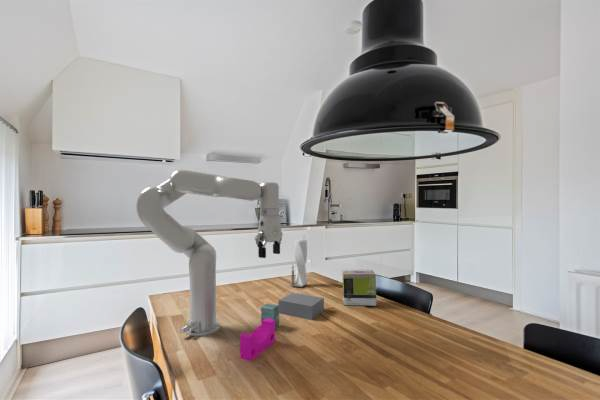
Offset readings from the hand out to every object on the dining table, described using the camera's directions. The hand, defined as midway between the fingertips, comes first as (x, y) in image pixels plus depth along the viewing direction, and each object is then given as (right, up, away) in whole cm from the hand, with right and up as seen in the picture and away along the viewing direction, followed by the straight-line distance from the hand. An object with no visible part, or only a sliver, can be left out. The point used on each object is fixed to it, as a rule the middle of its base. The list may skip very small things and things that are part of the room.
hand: (269, 255), depth 124 cm
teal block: (+1, -27, -4) cm, 27 cm away
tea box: (+40, -27, +23) cm, 53 cm away
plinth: (+13, -27, +11) cm, 32 cm away
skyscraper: (+13, -27, +54) cm, 62 cm away
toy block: (-3, -27, -22) cm, 35 cm away
